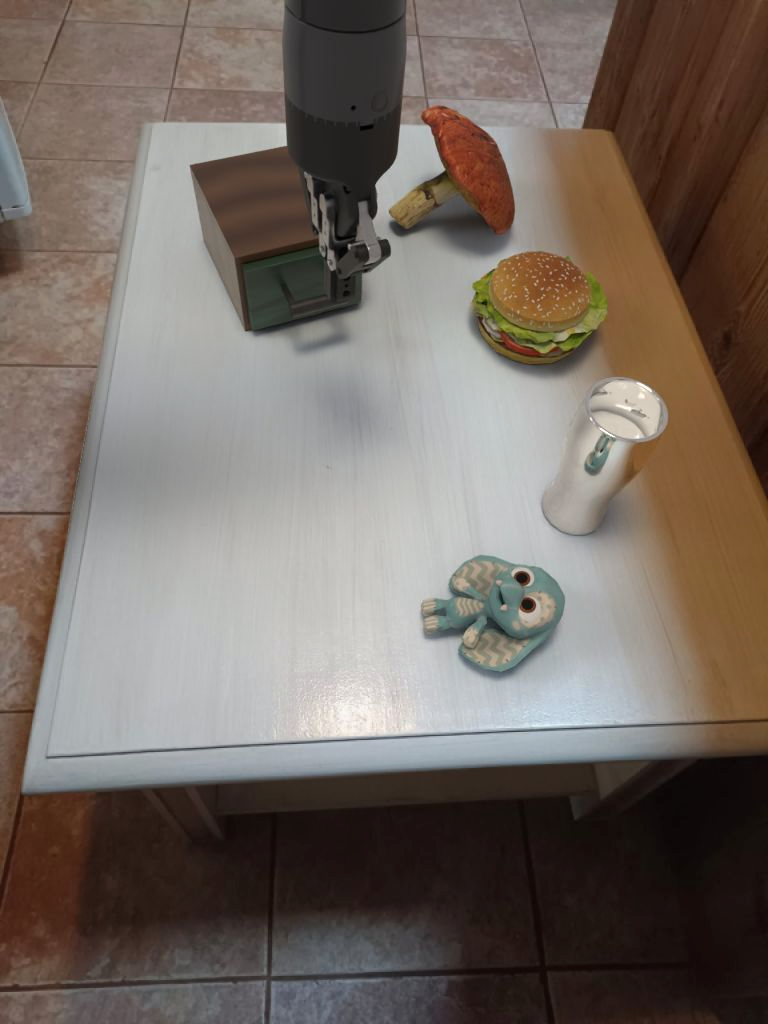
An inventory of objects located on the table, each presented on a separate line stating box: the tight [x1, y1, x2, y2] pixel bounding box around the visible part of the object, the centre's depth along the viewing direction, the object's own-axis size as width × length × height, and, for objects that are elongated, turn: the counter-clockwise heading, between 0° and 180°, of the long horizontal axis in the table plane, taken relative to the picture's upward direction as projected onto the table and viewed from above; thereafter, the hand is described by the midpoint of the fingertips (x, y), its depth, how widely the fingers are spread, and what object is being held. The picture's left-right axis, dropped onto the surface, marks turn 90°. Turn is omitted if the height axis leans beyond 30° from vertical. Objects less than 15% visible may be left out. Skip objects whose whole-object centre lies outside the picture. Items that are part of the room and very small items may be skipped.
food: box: [470, 250, 609, 365], centre depth 78 cm, size 14×14×8 cm
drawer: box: [242, 245, 363, 331], centre depth 78 cm, size 19×13×8 cm
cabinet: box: [189, 145, 363, 332], centre depth 80 cm, size 16×14×10 cm
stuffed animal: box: [420, 554, 566, 673], centre depth 60 cm, size 11×7×12 cm
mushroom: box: [388, 104, 516, 236], centre depth 86 cm, size 16×15×15 cm
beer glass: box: [541, 376, 669, 536], centre depth 63 cm, size 7×7×15 cm
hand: (339, 295), depth 60 cm, fingers closed
